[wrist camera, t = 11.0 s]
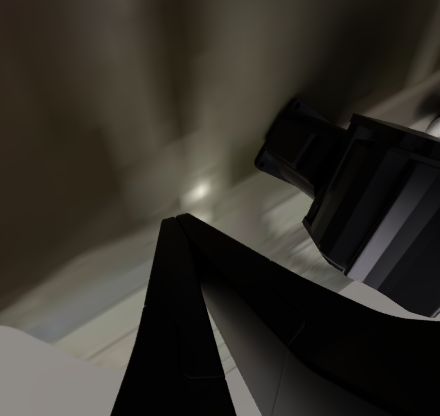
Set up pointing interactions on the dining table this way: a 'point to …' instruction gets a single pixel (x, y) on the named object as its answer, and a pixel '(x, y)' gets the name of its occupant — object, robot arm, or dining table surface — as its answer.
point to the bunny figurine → (434, 128)
